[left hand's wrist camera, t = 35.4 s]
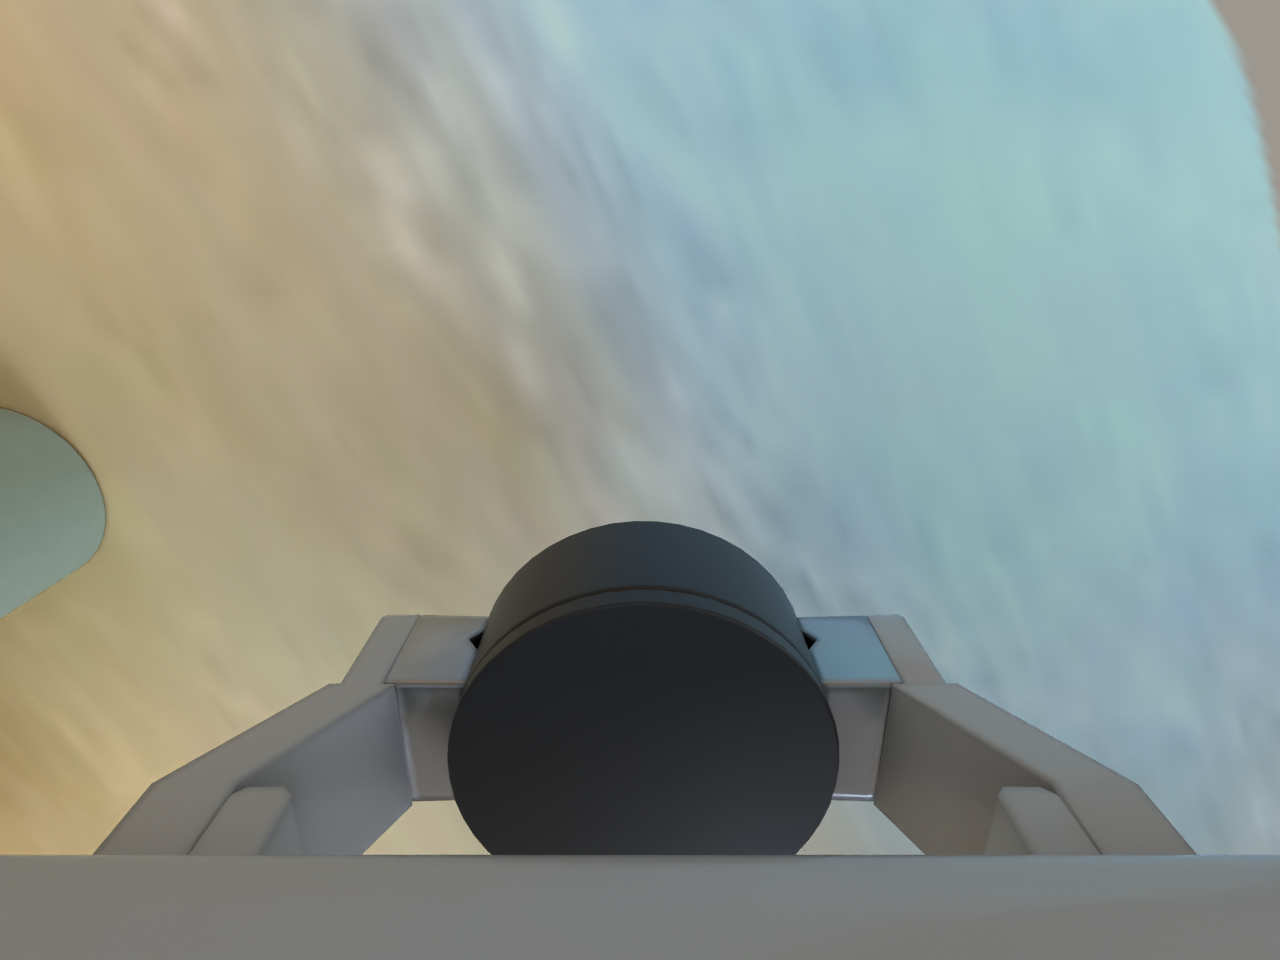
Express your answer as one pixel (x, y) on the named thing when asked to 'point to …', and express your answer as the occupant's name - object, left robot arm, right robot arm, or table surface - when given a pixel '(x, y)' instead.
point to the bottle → (42, 510)
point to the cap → (643, 705)
